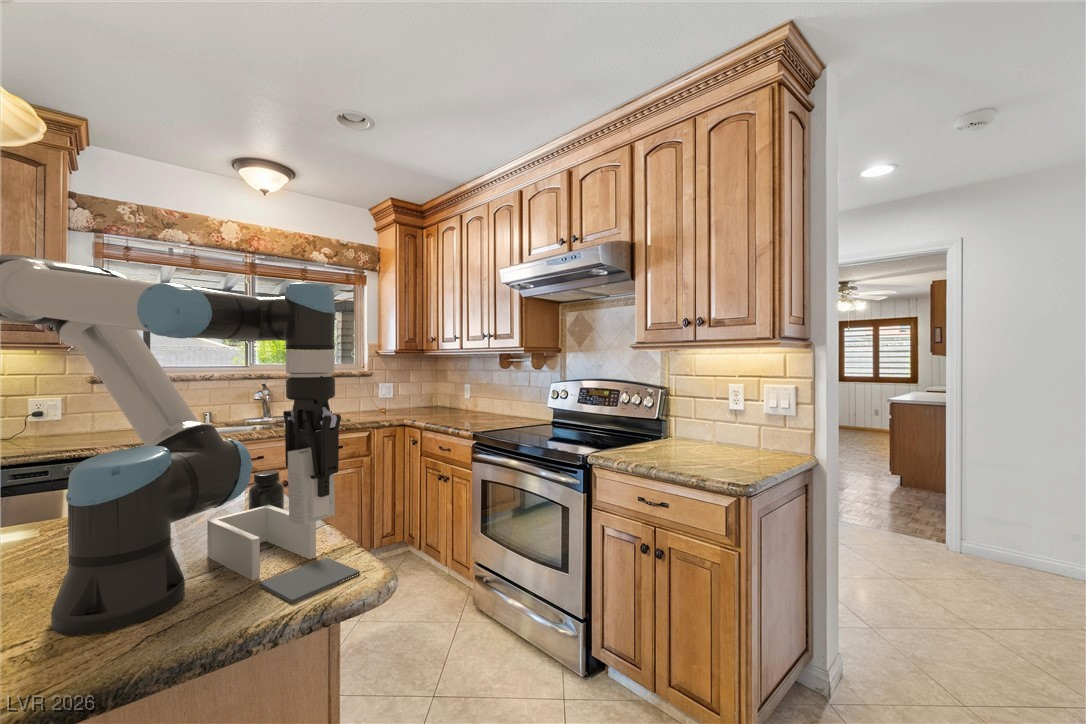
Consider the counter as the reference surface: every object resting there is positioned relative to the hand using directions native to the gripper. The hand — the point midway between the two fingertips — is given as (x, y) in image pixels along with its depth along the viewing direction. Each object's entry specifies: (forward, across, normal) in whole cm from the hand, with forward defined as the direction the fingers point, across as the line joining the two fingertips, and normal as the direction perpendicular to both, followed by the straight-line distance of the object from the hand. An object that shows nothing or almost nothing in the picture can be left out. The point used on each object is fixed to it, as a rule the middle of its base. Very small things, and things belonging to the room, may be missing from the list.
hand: (311, 512), depth 82 cm
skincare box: (+1, 0, 0) cm, 2 cm away
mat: (+12, 0, 0) cm, 12 cm away
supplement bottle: (+12, +33, -9) cm, 36 cm away
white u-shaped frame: (+12, +17, 0) cm, 20 cm away
